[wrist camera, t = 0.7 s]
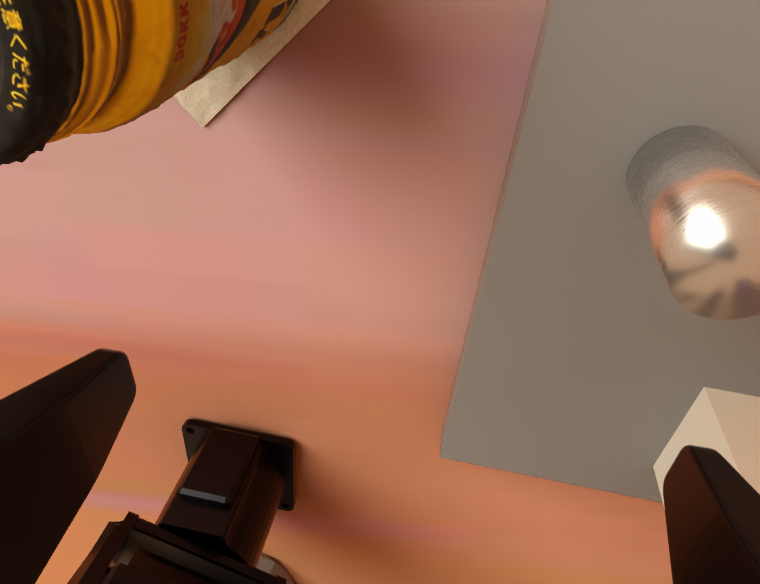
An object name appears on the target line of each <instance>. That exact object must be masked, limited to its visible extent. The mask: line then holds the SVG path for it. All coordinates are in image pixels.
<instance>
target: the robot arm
mask: <svg viewBox="0 0 760 584" xmlns="http://www.w3.org/2000/svg"><path fill="white" fill-rule="evenodd" d="M135 395H136V384H135V380H134V377H133V373H132V370H131V366H130V363H129V359H128V357H127V355H126V354H125V353H124V352H122V351H117V350H111V349H105V348H101V349H97V350H95V351H93V352H91V353H89V354H87V355H85V356H83V357H81V358H79V359H78V360H76V361H74V362H72V363H70V364H68V365H66V366H64V367H62V368H60V369H58V370H56V371H54V372H52V373H51V374H49V375H47V376H45V377H43V378H41V379H39V380H37V381H35V382H33V383H31V384H29V385H27V386H26V387H24V388H22V389H20V390H18V391H16V392H14V393H12V394H10V395H8V396H6V397H4V398H2V399H0V584H35V583H36V581H37V579H38V578H39V576H40V574H41V573H42V571H43V569H44V568H45V566H46V564H47V563H48V561H49V559H50V558H51V556H52V554H53V553H54V551H55V549H56V548H57V546H58V544H59V543H60V541H61V539H62V538H63V536H64V534H65V532H66V531H67V529H68V527H69V526H70V524H71V522H72V521H73V519H74V517H75V516H76V514H77V512H78V511H79V509H80V507H81V506H82V504H83V502H84V501H85V499H86V497H87V496H88V494H89V492H90V490H91V489H92V487H93V485H94V483H95V482H96V480H97V478H98V476H99V474H100V472H101V470H102V468H103V466H104V464H105V461H106V459H107V457H108V455H109V453H110V451H111V448H112V446H113V444H114V442H115V440H116V438H117V436H118V433H119V431H120V429H121V427H122V425H123V423H124V420H125V418H126V416H127V414H128V412H129V410H130V407H131V405H132V403H133V401H134V398H135ZM182 432H183V437H184V442H185V447H186V453H187V458H188V464H187V466H186V468H185V470H184V471H183V473H182V475H181V477H180V479H179V481H178V482H177V484H176V486H175V488H174V490H173V492H172V493H171V495H170V497H169V499H168V501H167V503H166V504H165V506H164V508H163V510H162V512H161V513H160V515H159V517H158V519H157V521H156V523H155V524H153V523H151V522H148V521H146V520H144V519H141V518H139V515H137V514H135V513H132V512H130V511H129V512H128V514H127V516H126V517H125V519H124V520H123V521H120V522H109V523H108V525H107V526H106V528H105V529H104V531H103V533H102V534H101V536H100V537H99V539H98V541H97V542H96V544H95V545H94V547H93V549H92V550H91V552H90V553H89V554H88V556H87V557H86V559H85V560H84V561H83V563H82V564H81V566H80V567H79V568H78V570H77V571H76V572H75V574H74V575H73V576H72V578H71V579H70V580H69V582H68V583H67V584H286V582H287V579H286V578H284V577H281V576H279V575H277V576H274V575H272V574H269V573H267V572H265V571H262V570H260V569H258V568H256V567H257V564H258V561H259V559H260V556H261V553H262V550H263V547H264V545H265V542H266V539H267V536H268V534H269V531H270V528H271V525H272V523H273V520H274V517H275V514H276V511H277V509H281V510H286V511H291V510H293V508H294V505H295V502H296V493H295V444H294V442H293V441H291V440H289V439H286V438H281V437H276V436H271V435H266V434H262V433H257V432H252V431H247V430H242V429H237V428H232V427H228V426H223V425H218V424H213V423H208V422H203V421H198V420H194V419H188V420H186V421H185V423H184V424H183V426H182ZM663 498H664V507H665V517H666V526H667V535H668V544H669V553H670V562H671V571H672V579H673V584H760V494H759V493H758V492H757V491H756V490H755V489H754V488H753V487H752V486H751V485H750V484H749V483H748V482H747V481H746V480H745V479H744V478H743V477H742V476H741V475H740V474H739V473H738V472H737V470H736V469H735V468H734V467H733V466H732V465H731V464H730V463H729V462H728V461H727V460H726V459H725V458H724V457H723V456H722V455H721V454H720V453H719V452H717V451H716V450H714V449H711V448H706V447H700V446H694V445H686V446H684V447H683V448H682V449H681V450H680V452H679V454H678V455H677V457H676V459H675V460H674V462H673V464H672V466H671V467H670V469H669V471H668V472H667V474H666V476H665V478H664V482H663Z"/></svg>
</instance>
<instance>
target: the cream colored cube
mask: <svg viewBox="0 0 760 584" xmlns="http://www.w3.org/2000/svg"><path fill="white" fill-rule="evenodd" d="M686 445H694V446H700V447H706V448H711V449H714V450H716V451H717V452H719V453H720V454H721V455H722V456H723V457H724V458H725V459H726V460H727V461H728V462H729V463H730V464H731V465H732V466H733V467H734V468H735V469H736V470H737V472H738V473H739V474H740V475H741V476H742V477H743V478H744V479H745V480H746V481H747V482H748V483H749V484H750V485H751V486H752V487H753V488H754V489H755V490H756V491H757V492H758V493H759V494H760V397H757V396H751V395H746V394H741V393H735V392H730V391H724V390H719V389H713V388H708V387H704V388H703V389H702V391H701V392H700V394H699V395H698V397H697V398H696V400H695V402H694V403H693V405H692V406H691V408H690V409H689V411H688V413H687V414H686V416H685V417H684V419H683V420H682V422H681V423H680V425H679V427H678V428H677V430H676V431H675V433H674V434H673V436H672V438H671V439H670V441H669V442H668V444H667V445H666V447H665V448H664V450H663V452H662V453H661V455H660V456H659V458H658V459H657V461H656V463H655V464H654V466H653V468H654V472H655V476H656V479H657V483H658V487H659V490H660V494H661V498H662V502H663V505H664V498H663V482H664V478H665V476H666V474H667V472H668V471H669V469H670V467H671V466H672V464H673V462H674V460H675V459H676V457H677V455H678V454H679V452H680V450H681V449H682V448H683V447H684V446H686ZM664 509H665V507H664Z"/></svg>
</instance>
